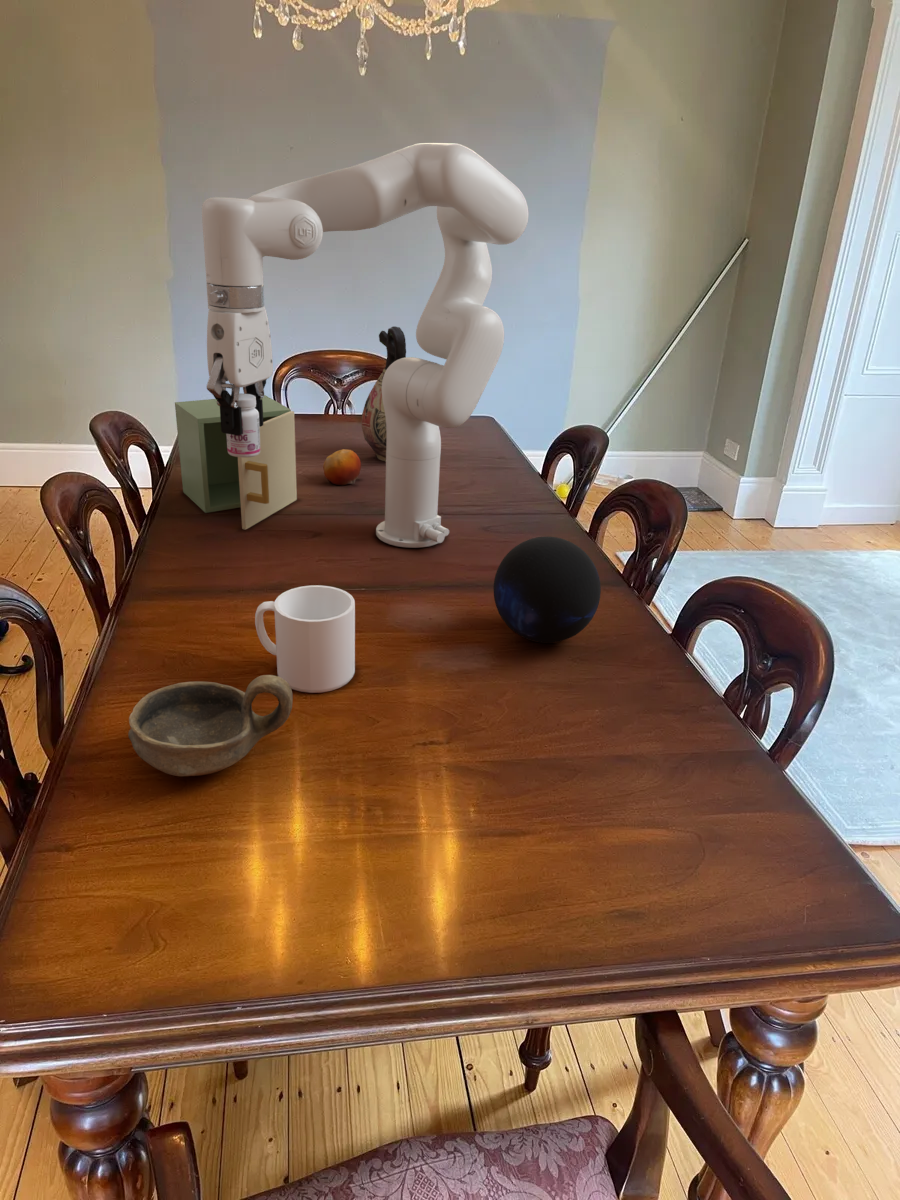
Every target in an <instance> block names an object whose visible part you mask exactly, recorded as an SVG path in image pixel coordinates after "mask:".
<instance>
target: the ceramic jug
mask: <svg viewBox="0 0 900 1200" xmlns="http://www.w3.org/2000/svg"><path fill="white" fill-rule="evenodd" d="M378 340H379V342H380V344H382V345H383V346H385V347H386V348H385V349H386V359H385V367H384V368H383V370H382V373H381V374H379V375H380V376H379V377H378V378H377V379H376V381H375V383H374V384H373V387H372V389H371V390H370V391H369V393H368V396H367V398H366V400H365V403H364V406H363V409H362V412H361V431H362V434H363V438H364V440H365V442H366V443H367V444H368V445H369V447H370V448H371V449H372V451H373V452H374V453H375V456H376V458H377V459H378V460H380V461H382V462H386V443H387V431H386V417H385V410H384V405H383V399H382V380H383V377H384V374H385V372H386V370H387V368H388V367H389V366H390V365H391V364H392V363H393V362H395V361H396V360H398V359H401V358H405V357H407V341H406V335H405V333H404V331H403V330H402V328H401V327H399V326H391V327H389V328H388V329H387V332H386V331H385V330H381V331H380V332H379V333H378Z"/></svg>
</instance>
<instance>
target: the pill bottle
mask: <svg viewBox="0 0 900 1200" xmlns="http://www.w3.org/2000/svg"><path fill="white" fill-rule="evenodd" d="M238 407H241V412H242V431H243V433H242V435H239V436H238V435H232V434H226V435H227V450H228V453H229V454H230V455H232V456H235V457H253V456H256V455H258V454H259V453H260V426H259V412H258V410H257V409H255V407H256V397H255V396H254V395H251V394H244V393H241V392H239V402H238Z"/></svg>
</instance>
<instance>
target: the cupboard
mask: <svg viewBox="0 0 900 1200" xmlns="http://www.w3.org/2000/svg"><path fill="white" fill-rule="evenodd" d="M262 401H263V422H265V421H267V420H270V419H272V418H275V417H277V416H280V415H282V414H285V413H287V412H290V411H292V409H290V408H289V407H288V406H285V405H284V404H282V403H280V402H278V401H276V400H274V399H273V398H271V397H269V396H267V395H266V394H264V398H263V399H262ZM174 409H175V410H174V411H175V421H176V428H177V429H176V430H177V431H176V432H177V441H178V450H179V451H178V453H179V462H180V473H181V482H182V484H181V485H182V493H183V494H184V495H186V496H187V497H188V498H189V499H190V500H191V501H192V502H193V503H194V504H195V505H196V506H197V507H199V509H201V511H202V512H204V513H205V514H207V513H214V512H219V511H220V512H221V511H225V510H226V511H227V510H232V509H238V508H239V509H240V508H241V502H240V486H239V470H238V457H235V456H232V455H230V454H229V453H228V450H227V435H226V433H223V432H222V431H221V419H220V406H218V405H217V400H216V399H215V398H210V399H195V400H186V401H176V402H174Z"/></svg>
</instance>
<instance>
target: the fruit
mask: <svg viewBox="0 0 900 1200" xmlns="http://www.w3.org/2000/svg"><path fill="white" fill-rule="evenodd" d="M322 465H323V466H322V467H323V468H322V469H323V474H324V477H325V478H326V480H328V481H329V482H330V483H331V484H333V485H336V486H346V485H355V482H356V480H359V481H360V478H358V477H359V475H360V473H361V469H362V463H361V459H360V457H359V456H358V454H357V453H356V452H354V450H352V449H346V448H345V449H344V448H343V449H339V450H337V451H334V452H333V453H332V454H330V455H328V456H326V459H325V460H324V461H323V464H322Z"/></svg>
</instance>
